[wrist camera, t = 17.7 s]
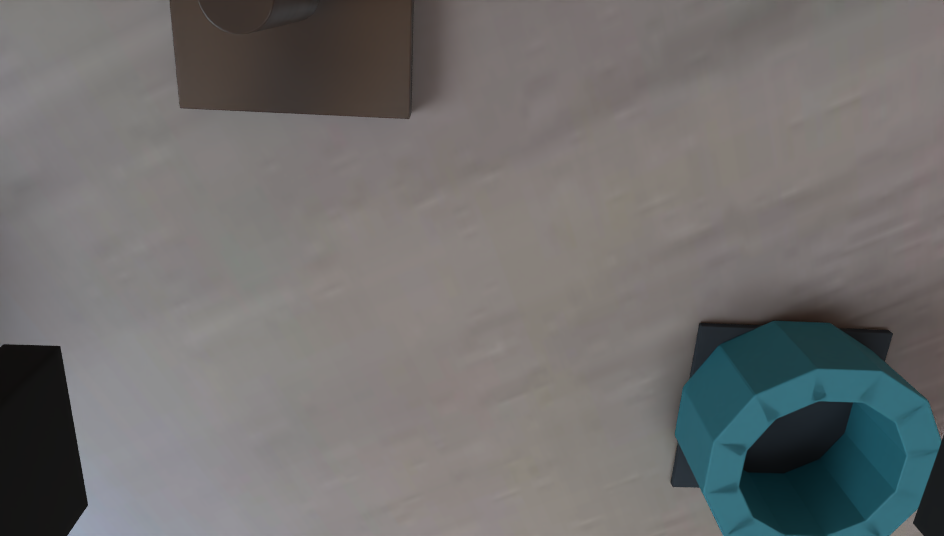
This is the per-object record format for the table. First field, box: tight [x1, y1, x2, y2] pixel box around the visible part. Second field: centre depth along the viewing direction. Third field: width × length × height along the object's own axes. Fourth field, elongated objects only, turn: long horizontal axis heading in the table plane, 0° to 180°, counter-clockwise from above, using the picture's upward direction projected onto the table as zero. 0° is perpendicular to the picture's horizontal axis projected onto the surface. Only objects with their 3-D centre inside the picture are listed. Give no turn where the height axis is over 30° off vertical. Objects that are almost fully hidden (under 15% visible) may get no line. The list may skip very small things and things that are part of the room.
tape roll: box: [675, 321, 942, 536], centre depth 37 cm, size 11×11×5 cm
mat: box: [671, 323, 893, 488], centre depth 39 cm, size 10×10×1 cm
